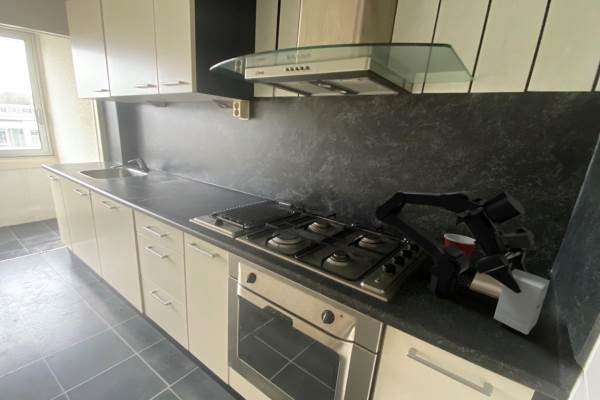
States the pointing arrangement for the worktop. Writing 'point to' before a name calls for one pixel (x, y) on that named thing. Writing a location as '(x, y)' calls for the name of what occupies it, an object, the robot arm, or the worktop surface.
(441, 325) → the worktop surface
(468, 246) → the plastic cup
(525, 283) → the supplement box
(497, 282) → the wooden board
